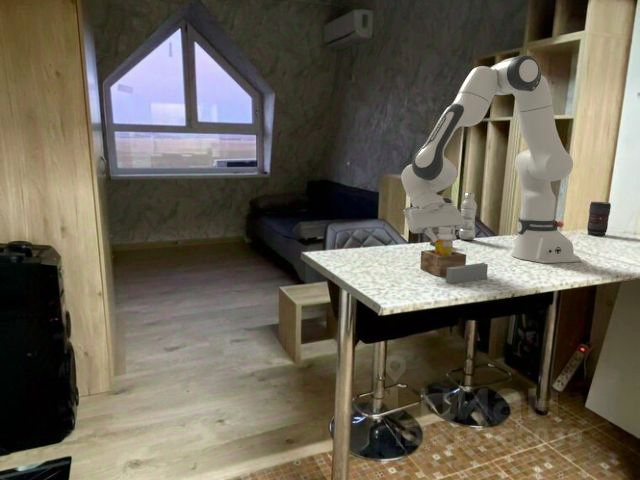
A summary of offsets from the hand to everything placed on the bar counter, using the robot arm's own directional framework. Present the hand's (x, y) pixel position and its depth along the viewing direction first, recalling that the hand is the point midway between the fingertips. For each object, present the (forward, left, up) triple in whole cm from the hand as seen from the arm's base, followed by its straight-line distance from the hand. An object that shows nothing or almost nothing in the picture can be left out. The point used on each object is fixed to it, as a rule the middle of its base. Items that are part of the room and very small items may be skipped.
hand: (445, 240), depth 149 cm
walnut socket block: (0, -1, -10) cm, 10 cm away
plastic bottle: (-23, -50, -10) cm, 56 cm away
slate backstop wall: (-5, +10, -10) cm, 15 cm away
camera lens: (-86, -64, -10) cm, 107 cm away
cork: (-8, -41, -10) cm, 43 cm away
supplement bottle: (0, -1, -6) cm, 6 cm away
